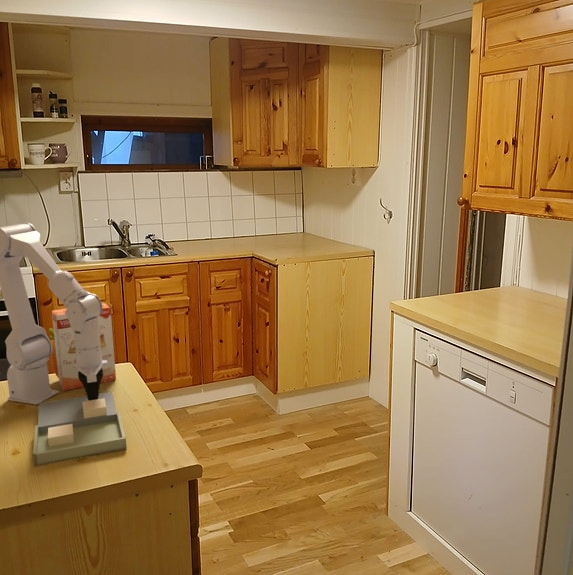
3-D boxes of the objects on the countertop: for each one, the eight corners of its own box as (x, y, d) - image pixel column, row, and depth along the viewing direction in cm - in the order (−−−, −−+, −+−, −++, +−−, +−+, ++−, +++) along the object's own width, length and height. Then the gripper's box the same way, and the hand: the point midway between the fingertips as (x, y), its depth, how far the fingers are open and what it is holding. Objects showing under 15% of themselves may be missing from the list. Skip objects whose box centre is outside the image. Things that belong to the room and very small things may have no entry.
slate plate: (40, 410, 143) (39, 403, 142) (112, 399, 149) (112, 391, 148) (38, 435, 131) (37, 427, 130) (117, 421, 136) (117, 414, 136)
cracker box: (63, 392, 153) (55, 315, 148) (59, 384, 158) (50, 309, 153) (117, 380, 160) (110, 306, 155) (111, 373, 165) (104, 301, 160)
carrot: (75, 378, 162) (69, 326, 158) (61, 385, 158) (55, 331, 154) (61, 375, 164) (55, 324, 161) (47, 382, 160) (41, 329, 156)
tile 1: (49, 436, 129) (48, 427, 129) (73, 432, 131) (72, 423, 131) (48, 446, 125) (47, 438, 124) (73, 442, 126) (72, 433, 126)
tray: (36, 435, 130) (35, 425, 130) (120, 421, 137) (119, 411, 136) (34, 466, 118) (32, 455, 117) (126, 449, 124) (125, 438, 124)
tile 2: (83, 409, 138) (82, 401, 138) (105, 406, 140) (104, 398, 140) (84, 418, 134) (83, 410, 133) (106, 414, 136) (106, 406, 135)
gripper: (108, 353, 134) (113, 408, 137) (103, 334, 147) (107, 385, 150) (75, 357, 131) (81, 414, 134) (73, 338, 144) (78, 390, 148)
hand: (93, 399), depth 142 cm, fingers closed
